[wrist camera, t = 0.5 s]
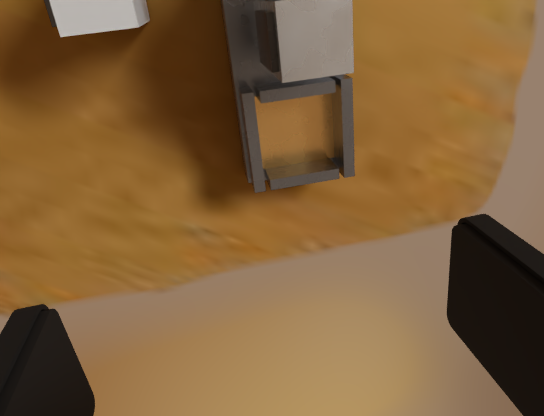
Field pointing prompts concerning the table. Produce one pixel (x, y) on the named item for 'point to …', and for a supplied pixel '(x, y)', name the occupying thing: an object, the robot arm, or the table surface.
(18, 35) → the table surface
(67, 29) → the pale grey block
